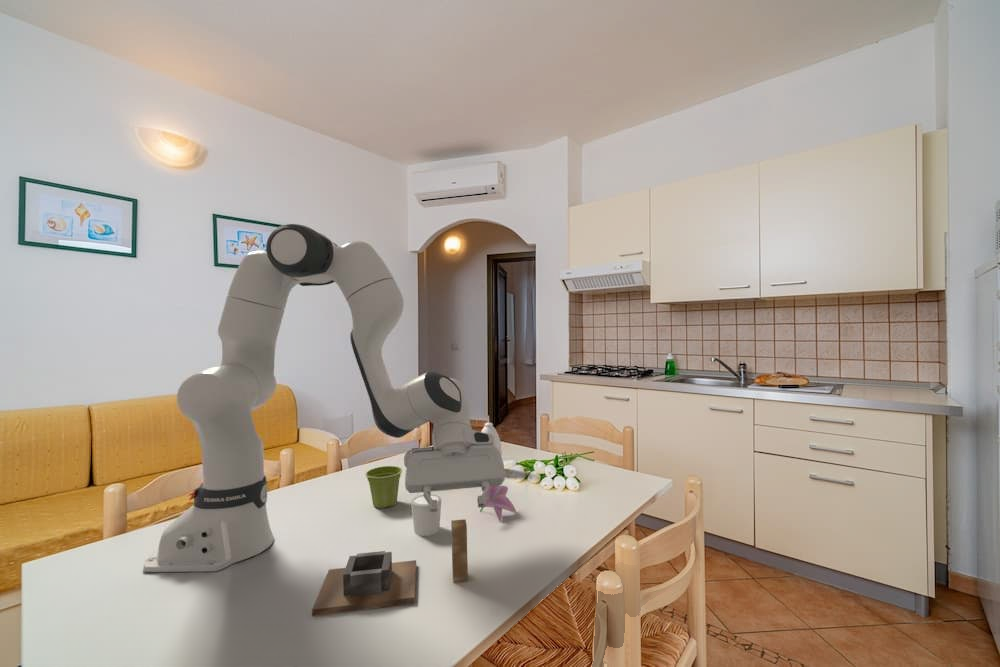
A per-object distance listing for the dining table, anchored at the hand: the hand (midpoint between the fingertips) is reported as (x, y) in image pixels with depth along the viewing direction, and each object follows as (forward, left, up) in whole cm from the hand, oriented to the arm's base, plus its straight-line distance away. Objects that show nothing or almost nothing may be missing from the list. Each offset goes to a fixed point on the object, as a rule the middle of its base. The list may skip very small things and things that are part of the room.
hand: (457, 508), depth 84 cm
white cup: (-6, +16, -11) cm, 20 cm away
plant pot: (-17, +34, -11) cm, 39 cm away
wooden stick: (0, -5, -11) cm, 12 cm away
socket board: (-16, -5, -11) cm, 20 cm away
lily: (+10, +21, -11) cm, 26 cm away
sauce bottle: (+14, +55, -11) cm, 58 cm away
